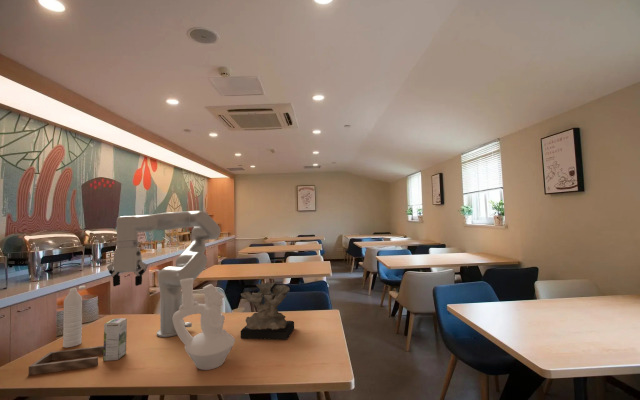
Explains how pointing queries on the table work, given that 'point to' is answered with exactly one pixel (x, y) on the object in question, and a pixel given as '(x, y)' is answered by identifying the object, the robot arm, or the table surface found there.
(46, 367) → the u rest
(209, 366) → the white sculpture
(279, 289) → the coral
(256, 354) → the table surface
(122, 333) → the syrup box
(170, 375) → the table surface
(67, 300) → the water bottle
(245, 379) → the table surface
